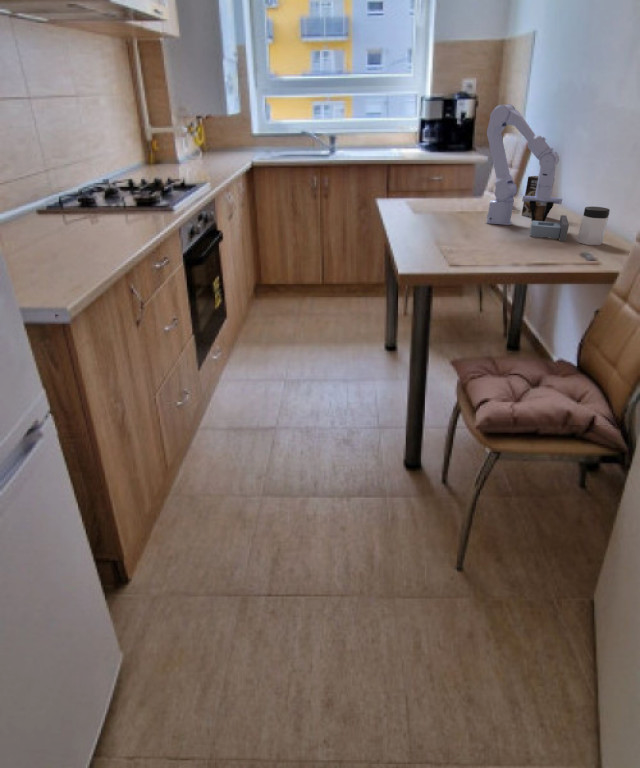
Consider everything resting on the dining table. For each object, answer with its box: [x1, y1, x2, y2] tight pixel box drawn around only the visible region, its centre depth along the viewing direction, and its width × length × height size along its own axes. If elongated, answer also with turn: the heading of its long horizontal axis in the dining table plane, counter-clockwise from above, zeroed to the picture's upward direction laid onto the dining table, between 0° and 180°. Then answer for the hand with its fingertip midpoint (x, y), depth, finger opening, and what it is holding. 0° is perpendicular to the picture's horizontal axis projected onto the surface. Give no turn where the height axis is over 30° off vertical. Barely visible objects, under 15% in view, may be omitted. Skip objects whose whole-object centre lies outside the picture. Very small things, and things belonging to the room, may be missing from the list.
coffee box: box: [520, 175, 555, 218], centre depth 246 cm, size 9×6×16 cm
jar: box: [576, 206, 611, 246], centre depth 205 cm, size 9×8×12 cm
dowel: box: [534, 205, 546, 221], centre depth 227 cm, size 4×4×8 cm
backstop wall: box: [558, 214, 570, 242], centre depth 215 cm, size 2×18×6 cm, turn 162°
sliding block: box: [529, 219, 561, 239], centre depth 217 cm, size 10×10×4 cm
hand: (537, 221), depth 228 cm, fingers closed on dowel, 4 cm apart
